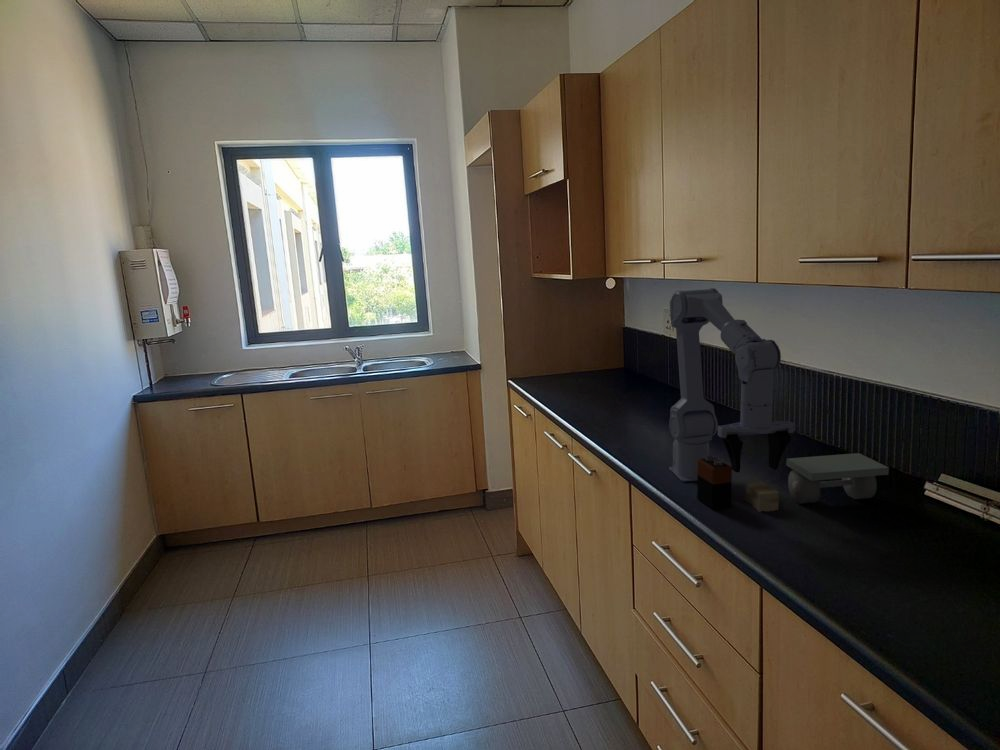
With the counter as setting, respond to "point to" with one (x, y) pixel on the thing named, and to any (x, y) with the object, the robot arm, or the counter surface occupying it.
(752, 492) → the chock
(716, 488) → the battery
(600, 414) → the counter surface
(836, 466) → the trolley
